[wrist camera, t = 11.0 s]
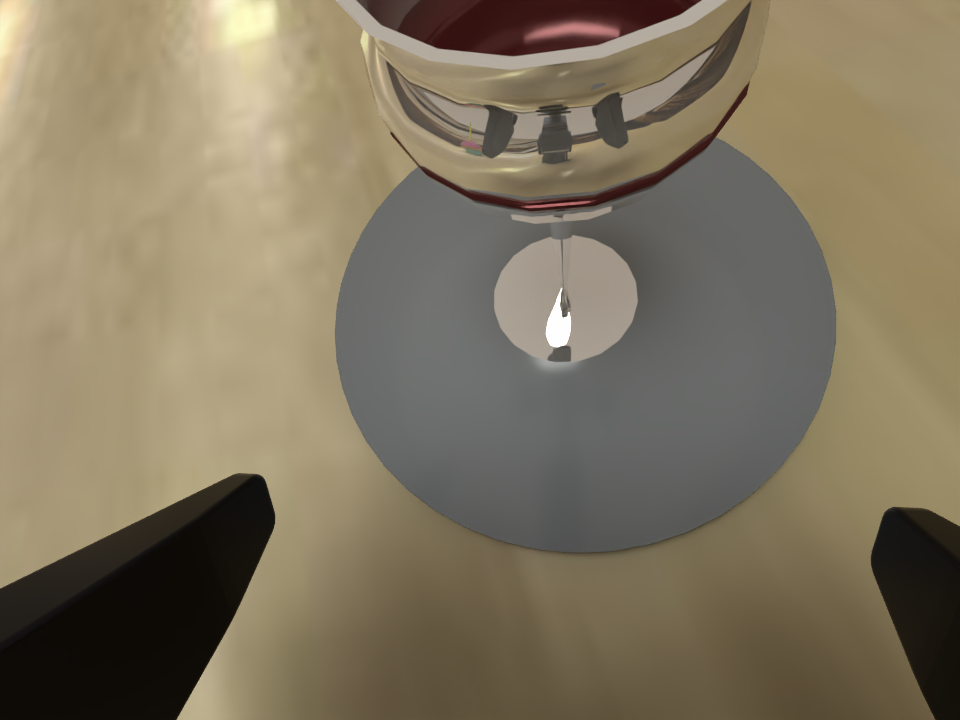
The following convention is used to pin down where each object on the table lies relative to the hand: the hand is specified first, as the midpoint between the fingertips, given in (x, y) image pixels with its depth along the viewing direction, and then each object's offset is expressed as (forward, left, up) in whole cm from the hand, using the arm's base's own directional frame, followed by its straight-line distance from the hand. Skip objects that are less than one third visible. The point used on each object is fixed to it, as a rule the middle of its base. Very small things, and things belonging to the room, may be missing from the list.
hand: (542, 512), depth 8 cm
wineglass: (+4, -7, -9) cm, 12 cm away
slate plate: (+5, -7, -9) cm, 12 cm away
